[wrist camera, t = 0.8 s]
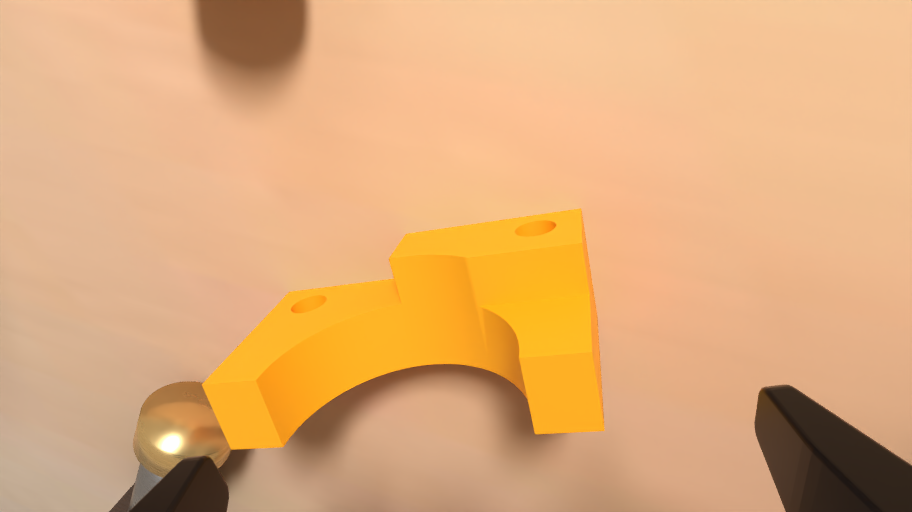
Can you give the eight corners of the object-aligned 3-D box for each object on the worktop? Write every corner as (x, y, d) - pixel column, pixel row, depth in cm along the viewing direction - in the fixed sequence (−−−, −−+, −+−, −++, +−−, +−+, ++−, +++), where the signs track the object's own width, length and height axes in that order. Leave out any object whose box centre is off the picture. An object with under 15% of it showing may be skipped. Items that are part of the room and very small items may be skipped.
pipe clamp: (581, 207, 21) (582, 292, 15) (597, 315, 22) (604, 431, 16) (276, 251, 24) (179, 336, 18) (310, 343, 25) (231, 449, 19)
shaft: (174, 366, 27) (112, 425, 23) (261, 409, 27) (212, 473, 23) (138, 495, 31) (82, 561, 28) (214, 532, 31) (167, 602, 28)
